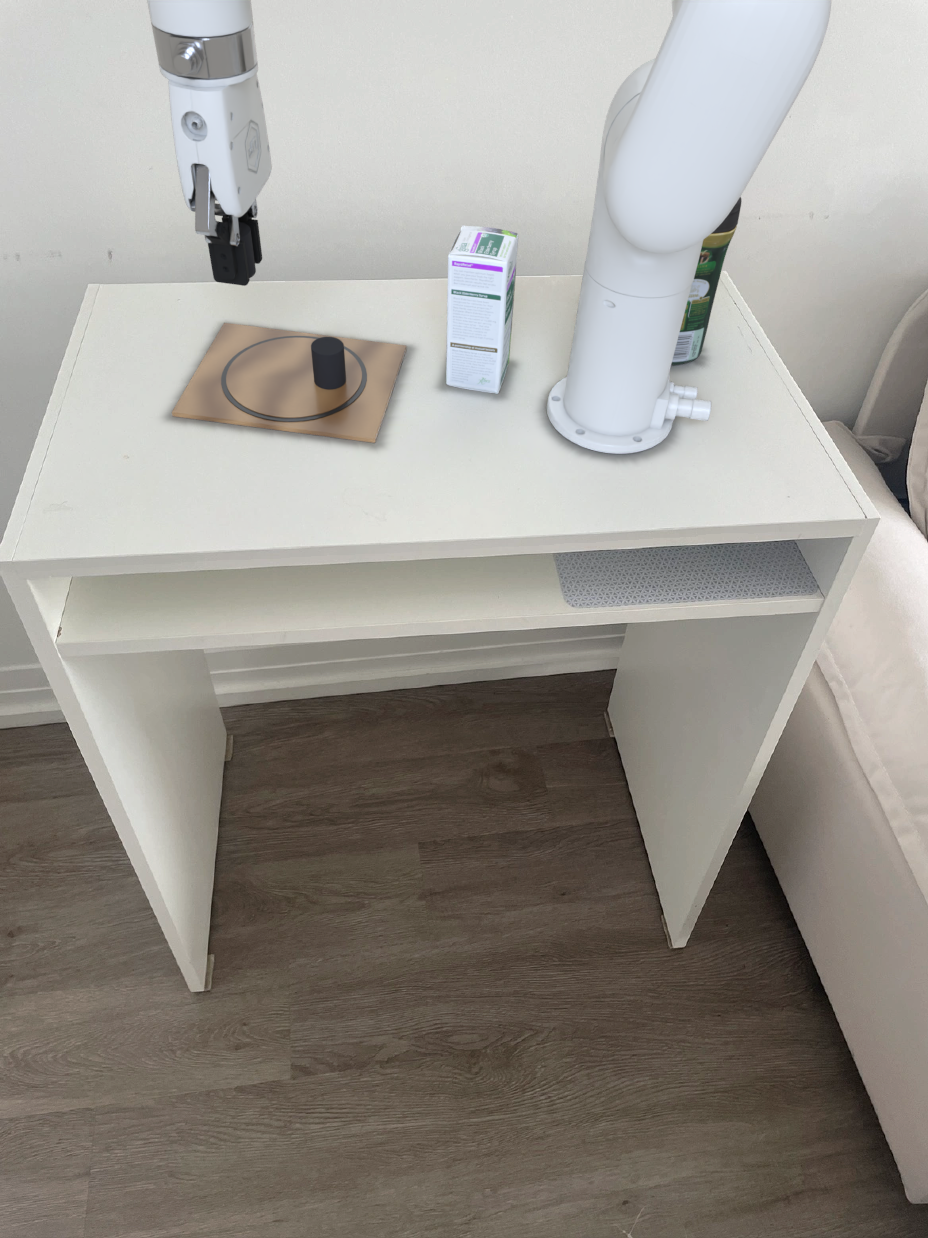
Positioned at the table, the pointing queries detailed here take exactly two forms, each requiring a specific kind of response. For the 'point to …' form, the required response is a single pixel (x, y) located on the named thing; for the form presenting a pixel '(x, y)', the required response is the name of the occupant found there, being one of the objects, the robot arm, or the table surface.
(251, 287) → the table surface
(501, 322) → the syrup box
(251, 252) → the black cylinder
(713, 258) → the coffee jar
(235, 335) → the sketch board
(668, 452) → the table surface
